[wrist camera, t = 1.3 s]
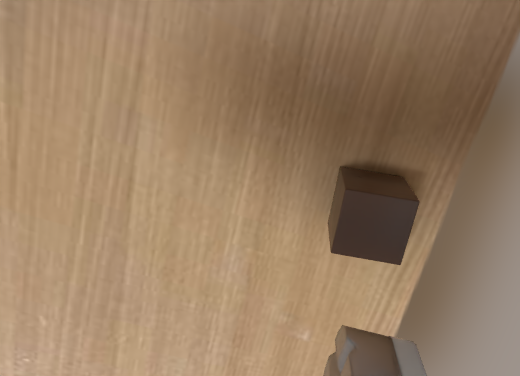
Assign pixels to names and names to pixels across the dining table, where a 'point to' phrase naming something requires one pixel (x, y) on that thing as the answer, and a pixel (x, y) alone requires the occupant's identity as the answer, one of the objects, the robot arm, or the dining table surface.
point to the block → (371, 215)
